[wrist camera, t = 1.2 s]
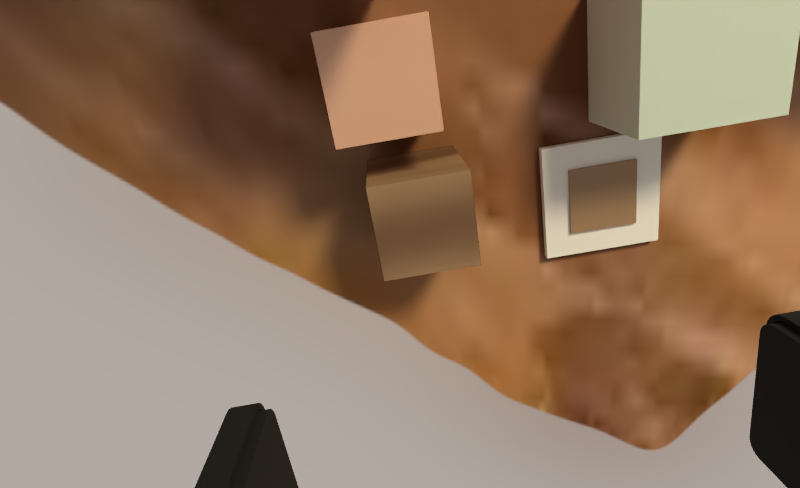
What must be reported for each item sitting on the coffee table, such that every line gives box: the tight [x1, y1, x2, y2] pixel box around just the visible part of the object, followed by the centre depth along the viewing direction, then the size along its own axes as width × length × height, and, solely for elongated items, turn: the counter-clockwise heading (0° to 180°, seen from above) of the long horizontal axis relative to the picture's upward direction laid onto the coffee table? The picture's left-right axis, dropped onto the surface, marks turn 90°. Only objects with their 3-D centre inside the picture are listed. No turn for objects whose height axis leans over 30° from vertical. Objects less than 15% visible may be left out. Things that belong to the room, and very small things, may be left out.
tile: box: [539, 134, 662, 259], centre depth 30 cm, size 7×7×1 cm
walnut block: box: [366, 146, 481, 281], centre depth 27 cm, size 5×5×6 cm
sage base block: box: [587, 0, 800, 140], centre depth 24 cm, size 7×7×6 cm
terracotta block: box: [311, 11, 444, 150], centre depth 24 cm, size 5×5×6 cm
